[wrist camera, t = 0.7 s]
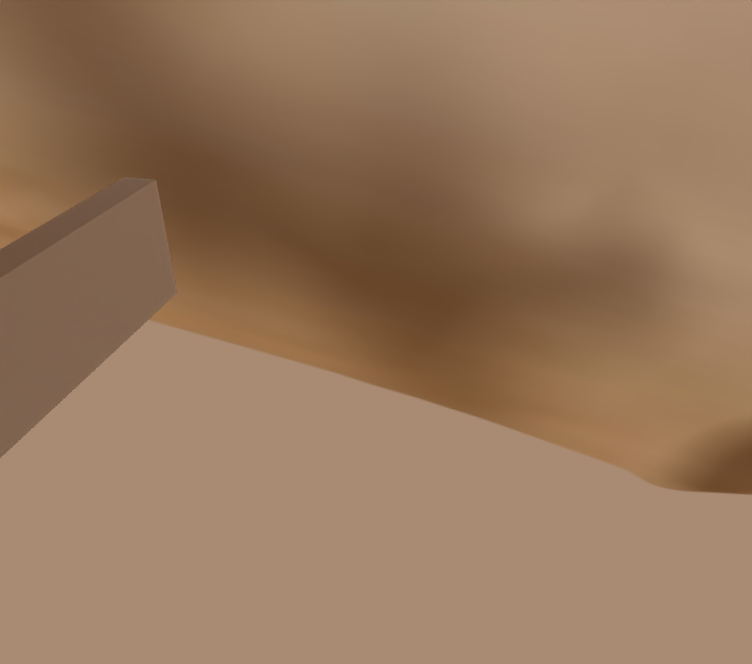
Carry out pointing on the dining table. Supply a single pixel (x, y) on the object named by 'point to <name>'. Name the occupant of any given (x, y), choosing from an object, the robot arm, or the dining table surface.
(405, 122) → the dining table surface
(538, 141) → the dining table surface
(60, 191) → the dining table surface
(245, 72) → the dining table surface
